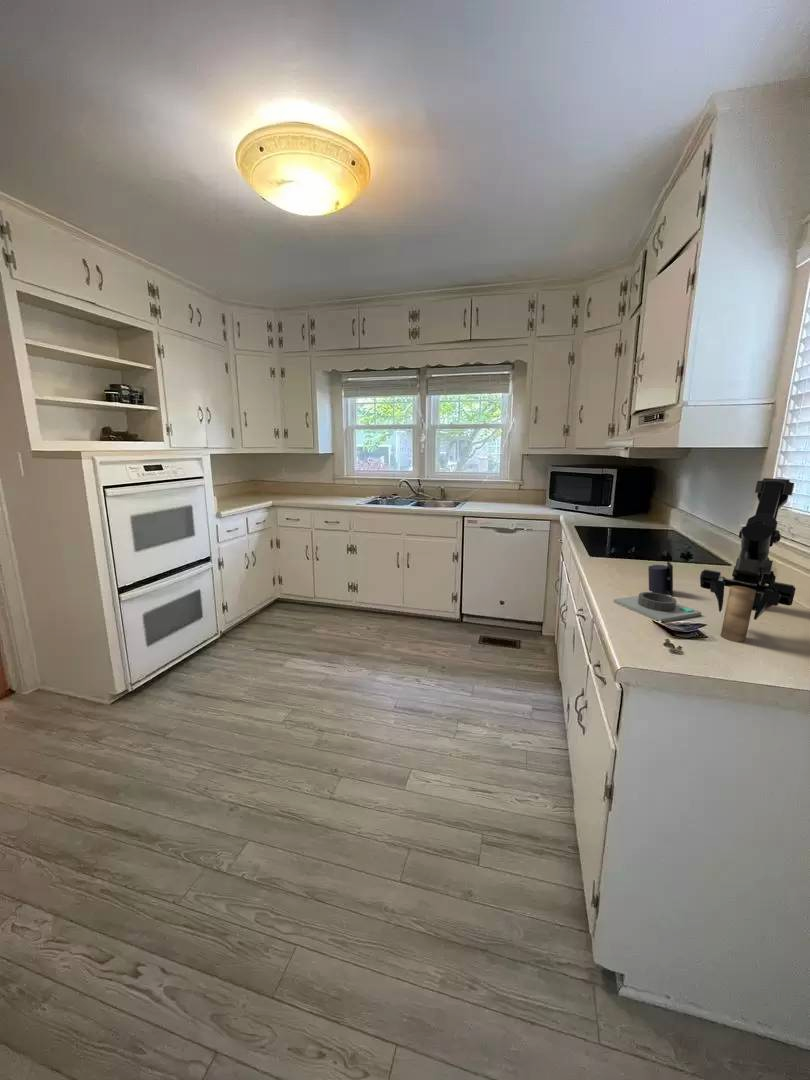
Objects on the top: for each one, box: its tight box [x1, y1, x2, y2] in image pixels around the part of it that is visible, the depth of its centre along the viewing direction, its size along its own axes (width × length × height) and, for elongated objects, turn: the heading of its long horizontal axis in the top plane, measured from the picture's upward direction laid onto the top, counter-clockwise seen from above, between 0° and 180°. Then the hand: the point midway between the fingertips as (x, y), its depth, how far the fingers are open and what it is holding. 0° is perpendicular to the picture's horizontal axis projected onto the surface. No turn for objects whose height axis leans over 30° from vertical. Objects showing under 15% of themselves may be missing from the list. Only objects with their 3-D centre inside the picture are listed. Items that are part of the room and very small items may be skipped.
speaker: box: [647, 560, 674, 597], centre depth 141 cm, size 8×6×10 cm
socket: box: [613, 591, 702, 622], centre depth 126 cm, size 16×16×4 cm
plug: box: [720, 586, 756, 643], centre depth 107 cm, size 5×5×13 cm
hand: (737, 614), depth 106 cm, fingers open, 7 cm apart
